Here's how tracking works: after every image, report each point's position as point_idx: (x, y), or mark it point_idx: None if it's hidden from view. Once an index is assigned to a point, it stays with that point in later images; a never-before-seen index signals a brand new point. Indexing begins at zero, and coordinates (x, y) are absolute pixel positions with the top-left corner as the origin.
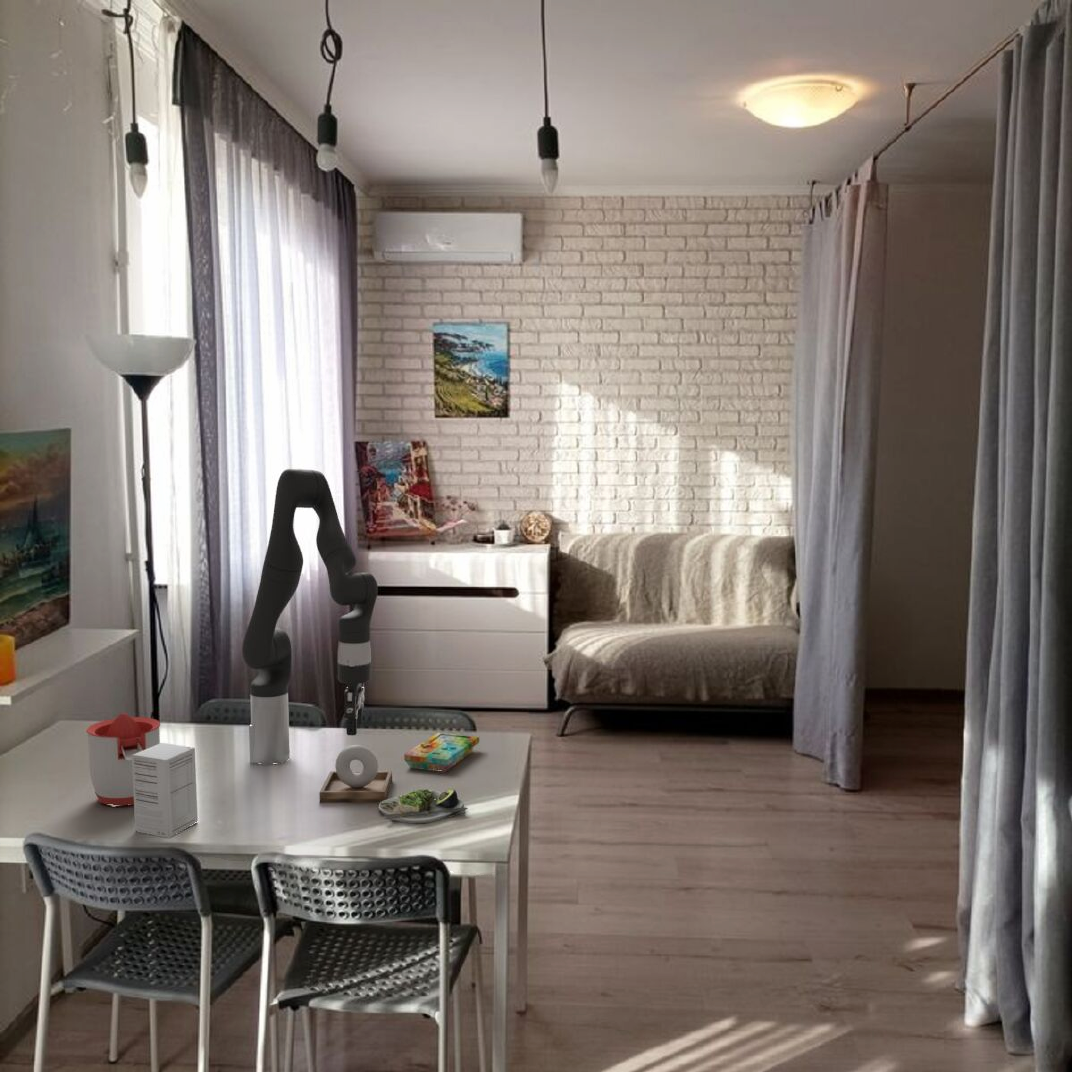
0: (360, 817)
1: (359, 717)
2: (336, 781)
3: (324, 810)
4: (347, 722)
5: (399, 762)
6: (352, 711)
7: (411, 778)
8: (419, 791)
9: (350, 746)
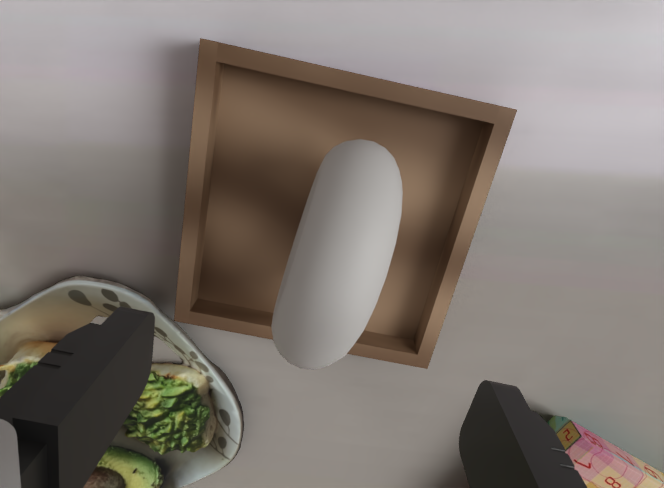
0: (37, 203)
1: (481, 481)
2: (437, 133)
3: (119, 61)
4: (45, 394)
5: (635, 387)
6: (535, 485)
7: (434, 404)
8: (169, 428)
9: (334, 269)
